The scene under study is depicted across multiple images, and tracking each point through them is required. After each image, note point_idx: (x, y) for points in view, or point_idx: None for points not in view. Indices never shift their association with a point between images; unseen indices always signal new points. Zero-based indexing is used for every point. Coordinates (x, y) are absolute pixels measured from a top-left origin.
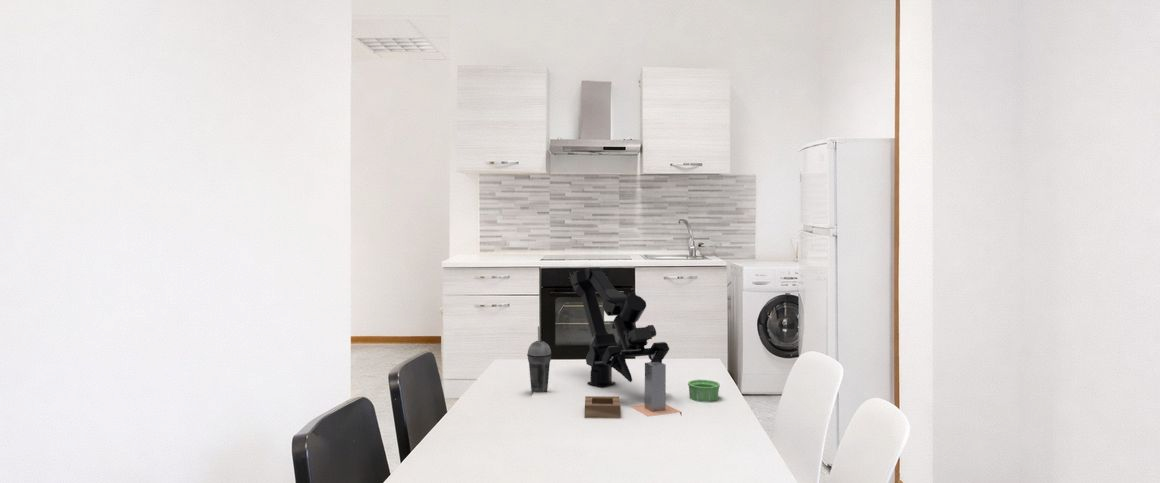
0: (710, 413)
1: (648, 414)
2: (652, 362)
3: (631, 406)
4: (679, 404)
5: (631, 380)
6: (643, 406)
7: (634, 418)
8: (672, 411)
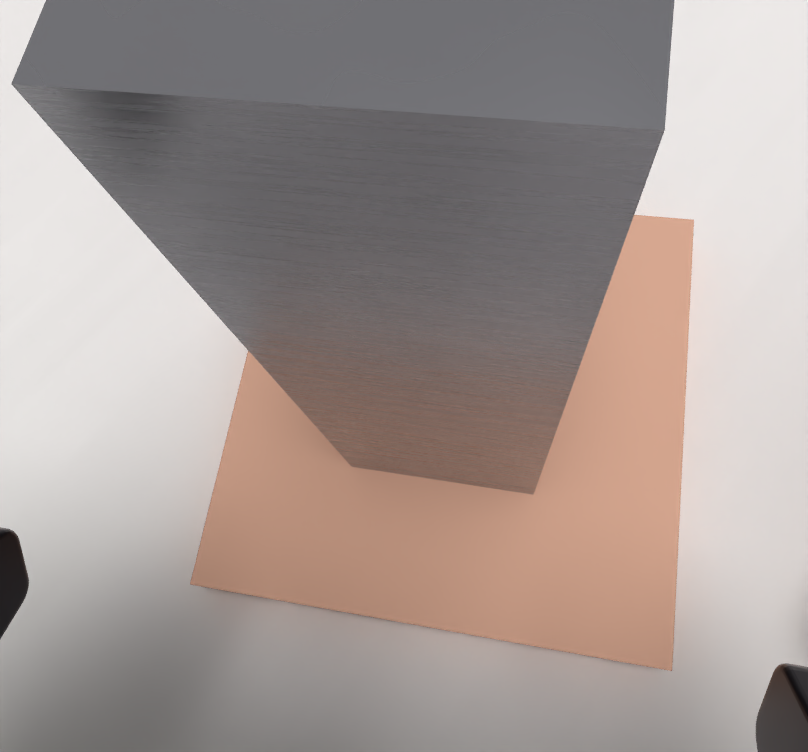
0: (41, 151)
1: (650, 263)
2: (315, 48)
3: (656, 638)
4: (12, 524)
5: (794, 672)
6: (513, 549)
7: (781, 355)
8: None
